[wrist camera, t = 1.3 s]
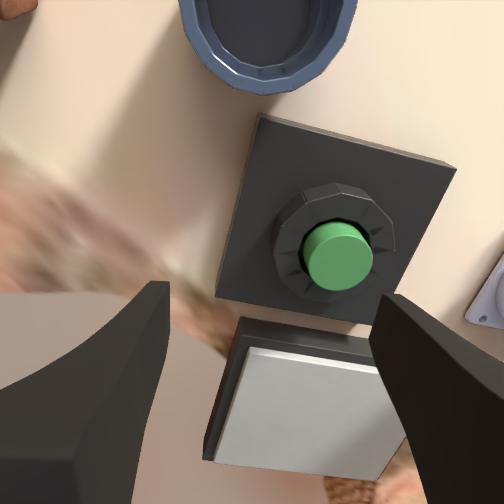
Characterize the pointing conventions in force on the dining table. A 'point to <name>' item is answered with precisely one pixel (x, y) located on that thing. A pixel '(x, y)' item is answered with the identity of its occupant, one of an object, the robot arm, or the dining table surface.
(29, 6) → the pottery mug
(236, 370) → the scale
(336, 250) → the button
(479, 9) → the dining table surface
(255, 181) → the block
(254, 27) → the cup
